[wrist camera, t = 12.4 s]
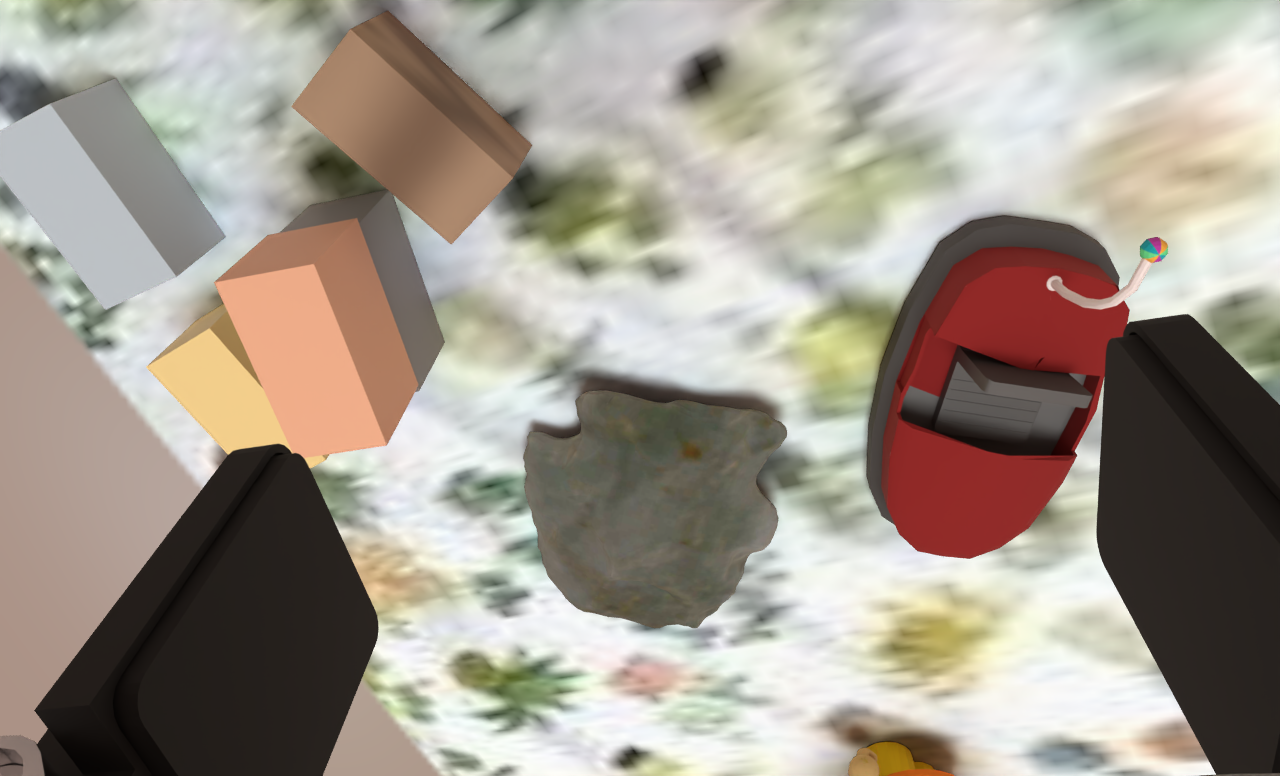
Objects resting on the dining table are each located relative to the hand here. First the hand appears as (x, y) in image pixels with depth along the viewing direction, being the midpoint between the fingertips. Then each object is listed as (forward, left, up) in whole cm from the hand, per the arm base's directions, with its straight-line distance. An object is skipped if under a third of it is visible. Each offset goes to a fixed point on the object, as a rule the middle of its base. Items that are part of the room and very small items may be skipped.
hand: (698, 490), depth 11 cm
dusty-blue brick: (+1, -27, -32) cm, 42 cm away
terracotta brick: (+7, -17, -27) cm, 33 cm away
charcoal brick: (+8, -17, -32) cm, 37 cm away
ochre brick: (+11, -24, -32) cm, 42 cm away
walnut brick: (+1, -12, -32) cm, 35 cm away
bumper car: (+18, +11, -33) cm, 39 cm away
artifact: (+23, -7, -33) cm, 41 cm away
